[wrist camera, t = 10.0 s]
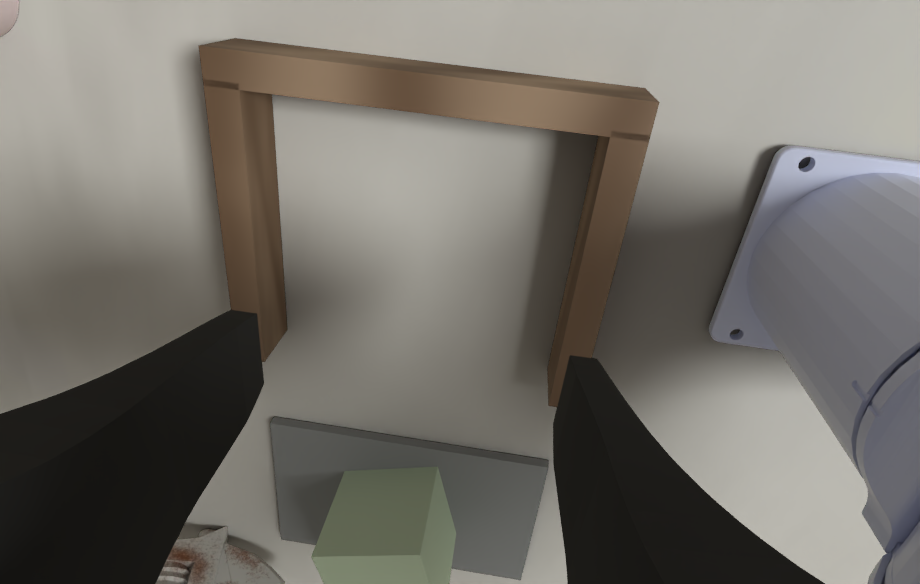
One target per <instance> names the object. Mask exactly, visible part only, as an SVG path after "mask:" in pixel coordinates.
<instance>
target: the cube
mask: <svg viewBox="0 0 920 584" xmlns="http://www.w3.org/2000/svg"><path fill="white" fill-rule="evenodd" d="M455 539H456V530H455V527H454V523H453V519H452V516H451V512H450V509H449V505H448V501H447V498H446V494H445V491H444V487H443V483H442V480H441V476H440V473H439V469H438V467H418V468H397V469H377V470H356V471H345V472H344V474H343V477H342V479H341V482H340V484H339V487H338V490H337V492H336V495H335V497H334V500H333V502H332V505H331V508H330V510H329V513H328V515H327V518H326V521H325V523H324V526H323V528H322V531H321V533H320V536H319V539H318V541H317V544H316V546H315V549H314V551H313V554H312V559H313V561H314V563H315V566H316V568H317V570H318V572H319V574H320V576H321V578H322V581H323V583H324V584H449V581H450V574H451V567H452V560H453V553H454V546H455Z"/></svg>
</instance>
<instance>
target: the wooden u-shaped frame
mask: <svg viewBox="0 0 920 584" xmlns="http://www.w3.org/2000/svg"><path fill="white" fill-rule="evenodd" d="M199 52H200V60H201V69H202V77H203V85H204V93H205V101H206V109H207V117H208V126H209V134H210V142H211V150H212V158H213V166H214V174H215V183H216V191H217V199H218V207H219V215H220V223H221V231H222V240H223V248H224V256H225V264H226V272H227V280H228V288H229V296H230V305H231V310H235V311H243V312H250V313H257V317H258V327H259V338H260V348H261V359H262V362H265V361H266V359H267V358H268V356H269V355H270V354H271V352H272V351H273V349H274V348H275V347H276V345H277V344H278V342H279V341H280V339H281V338H282V337H283V335H284V334H285V332H286V331H287V317H286V302H285V287H284V272H283V256H282V241H281V226H280V211H279V196H278V181H277V165H276V150H275V135H274V120H273V105H272V94H274V95H282V96H290V97H298V98H306V99H314V100H322V101H330V102H337V103H345V104H353V105H361V106H369V107H377V108H385V109H393V110H400V111H408V112H416V113H424V114H432V115H440V116H448V117H455V118H463V119H471V120H479V121H487V122H495V123H503V124H511V125H518V126H526V127H534V128H542V129H550V130H558V131H566V132H574V133H581V134H589V135H597V136H598V140H597V145H596V149H595V154H594V159H593V163H592V168H591V172H590V177H589V181H588V186H587V190H586V195H585V200H584V204H583V209H582V213H581V218H580V222H579V227H578V232H577V236H576V241H575V245H574V250H573V254H572V259H571V264H570V268H569V273H568V277H567V282H566V286H565V291H564V296H563V300H562V305H561V309H560V314H559V318H558V323H557V327H556V332H555V337H554V341H553V346H552V350H551V355H550V359H549V364H548V369H547V371H548V404H549V406H554V407H557V406H558V402H559V398H560V394H561V389H562V385H563V381H564V377H565V373H566V369H567V364H568V360H569V356H570V355H572V356H580V357H587V358H592V355H593V351H594V347H595V343H596V340H597V336H598V332H599V328H600V324H601V321H602V317H603V313H604V309H605V306H606V302H607V298H608V294H609V290H610V287H611V283H612V279H613V275H614V272H615V268H616V264H617V260H618V256H619V253H620V249H621V245H622V241H623V237H624V234H625V230H626V226H627V222H628V219H629V215H630V211H631V207H632V203H633V200H634V196H635V192H636V188H637V185H638V181H639V177H640V173H641V169H642V166H643V162H644V158H645V154H646V151H647V147H648V143H649V139H650V135H651V132H652V128H653V124H654V120H655V117H656V113H657V109H658V105H659V102H658V101H657V100H656V99H655V98H654V97H653V96H652V95H651V94H650V93H649V92H648V91H647V90H646V89H645V88H638V87H630V86H622V85H614V84H606V83H597V82H589V81H581V80H573V79H565V78H556V77H548V76H540V75H532V74H524V73H515V72H507V71H499V70H491V69H483V68H474V67H466V66H458V65H450V64H442V63H433V62H425V61H417V60H409V59H401V58H392V57H384V56H376V55H368V54H360V53H351V52H343V51H335V50H327V49H319V48H310V47H302V46H294V45H286V44H278V43H269V42H261V41H253V40H245V39H237V38H235V39H230V40H225V41H220V42H215V43H210V44H205V45H200V46H199Z"/></svg>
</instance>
